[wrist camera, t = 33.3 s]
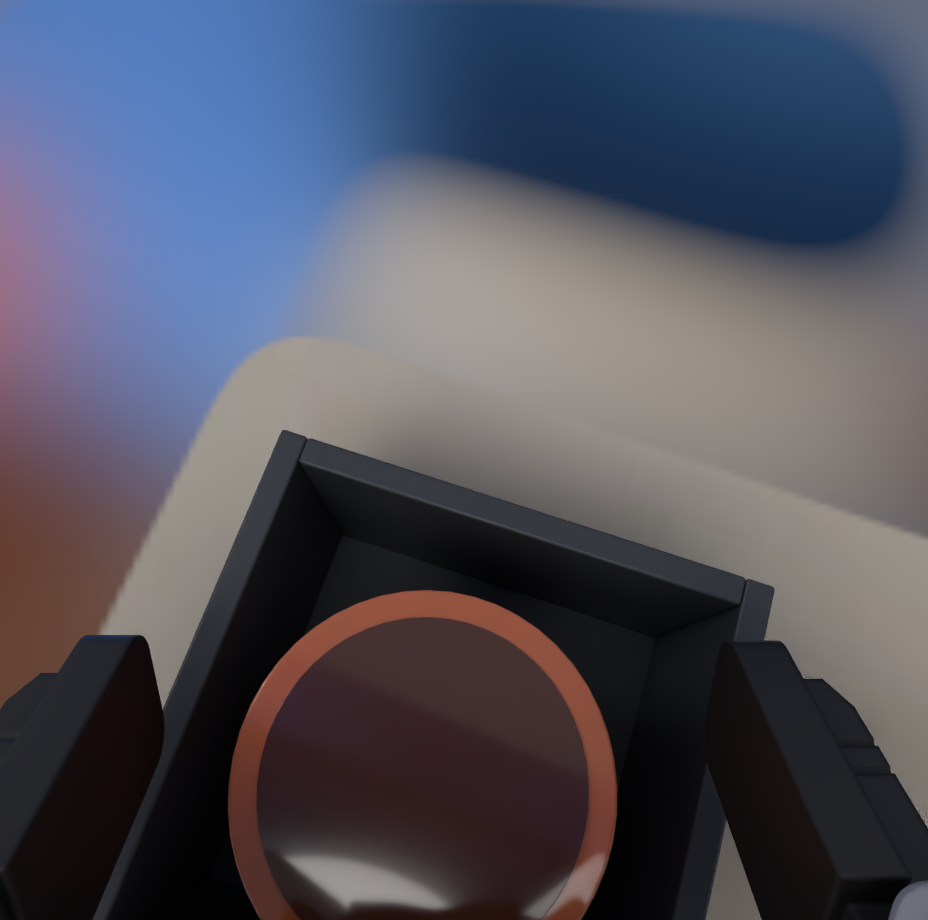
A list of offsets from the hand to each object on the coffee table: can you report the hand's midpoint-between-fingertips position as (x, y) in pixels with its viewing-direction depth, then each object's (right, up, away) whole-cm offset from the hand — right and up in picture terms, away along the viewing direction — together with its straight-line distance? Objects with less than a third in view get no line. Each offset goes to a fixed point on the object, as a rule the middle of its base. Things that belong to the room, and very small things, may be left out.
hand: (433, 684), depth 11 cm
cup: (0, -4, +7) cm, 8 cm away
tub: (0, -4, +7) cm, 8 cm away
